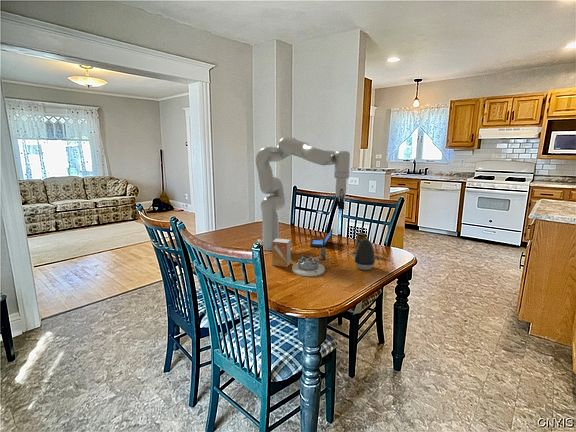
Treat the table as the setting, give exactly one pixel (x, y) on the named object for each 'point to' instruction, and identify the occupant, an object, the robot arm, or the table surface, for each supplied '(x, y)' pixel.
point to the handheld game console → (321, 241)
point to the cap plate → (308, 273)
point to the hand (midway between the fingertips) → (340, 207)
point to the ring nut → (311, 261)
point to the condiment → (360, 237)
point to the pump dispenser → (364, 255)
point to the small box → (281, 252)
